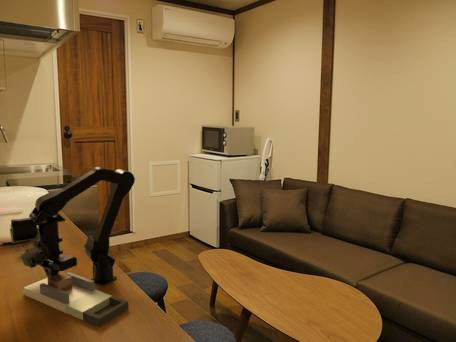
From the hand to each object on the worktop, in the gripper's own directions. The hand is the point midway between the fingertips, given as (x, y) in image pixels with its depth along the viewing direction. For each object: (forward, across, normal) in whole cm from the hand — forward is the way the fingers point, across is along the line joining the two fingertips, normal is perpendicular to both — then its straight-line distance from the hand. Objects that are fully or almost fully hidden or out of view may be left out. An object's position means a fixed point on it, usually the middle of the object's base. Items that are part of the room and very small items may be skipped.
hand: (52, 282), depth 124 cm
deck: (+4, +6, 0) cm, 7 cm away
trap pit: (+3, +24, 0) cm, 25 cm away
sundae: (+4, -38, +18) cm, 42 cm away
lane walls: (+1, +7, 0) cm, 8 cm away
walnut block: (+1, +4, 0) cm, 4 cm away
